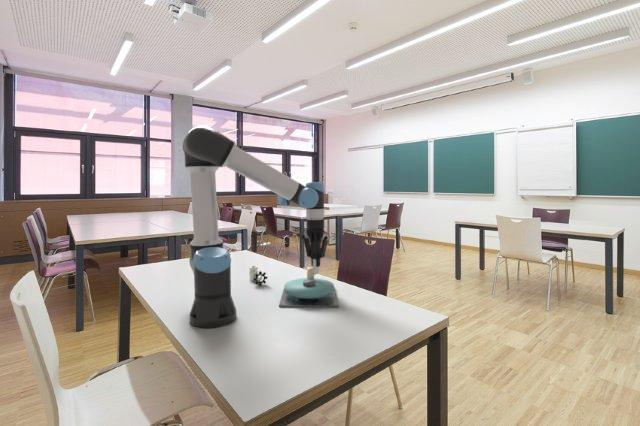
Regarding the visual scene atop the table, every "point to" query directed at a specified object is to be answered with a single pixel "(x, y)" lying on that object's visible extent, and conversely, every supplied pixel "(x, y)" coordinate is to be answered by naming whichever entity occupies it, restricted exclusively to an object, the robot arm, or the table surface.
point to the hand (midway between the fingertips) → (315, 273)
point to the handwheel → (309, 287)
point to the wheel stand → (308, 301)
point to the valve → (257, 275)
